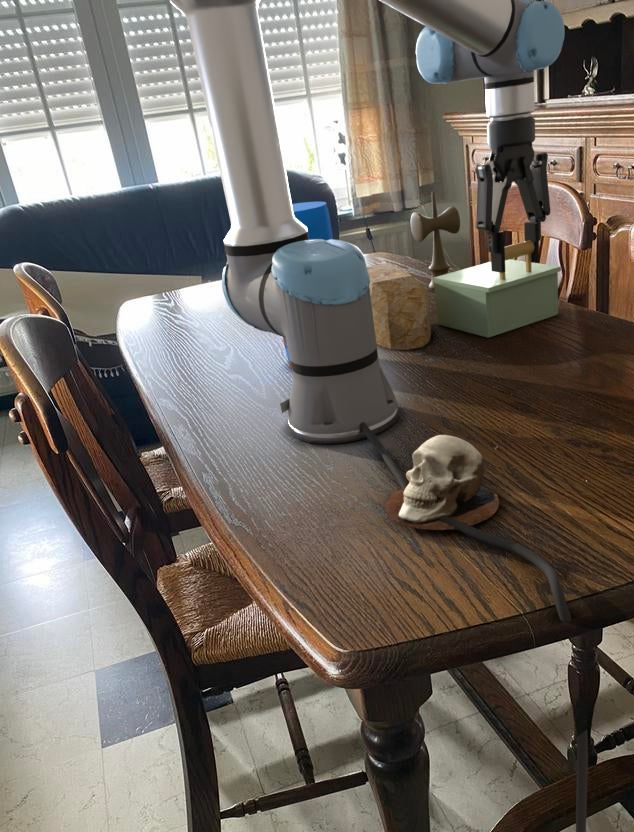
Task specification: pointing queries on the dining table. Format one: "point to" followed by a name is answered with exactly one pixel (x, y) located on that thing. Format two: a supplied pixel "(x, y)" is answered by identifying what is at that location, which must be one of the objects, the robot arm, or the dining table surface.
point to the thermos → (312, 227)
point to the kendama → (435, 234)
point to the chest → (496, 306)
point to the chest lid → (492, 281)
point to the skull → (443, 487)
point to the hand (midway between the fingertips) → (515, 266)
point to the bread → (398, 308)
